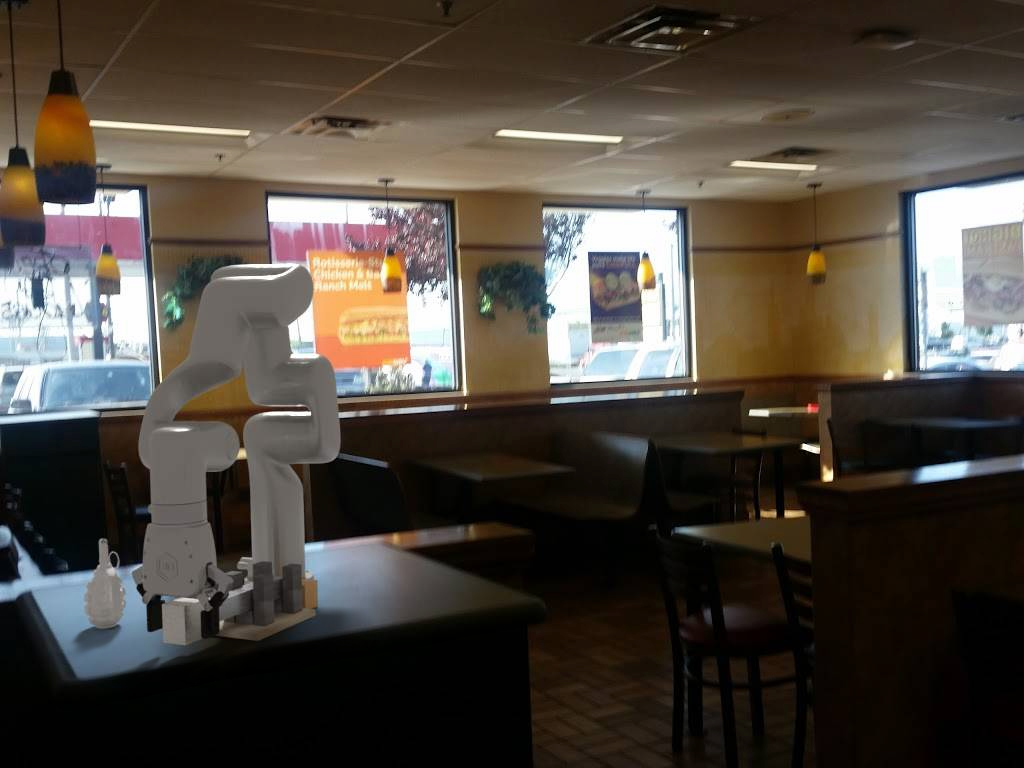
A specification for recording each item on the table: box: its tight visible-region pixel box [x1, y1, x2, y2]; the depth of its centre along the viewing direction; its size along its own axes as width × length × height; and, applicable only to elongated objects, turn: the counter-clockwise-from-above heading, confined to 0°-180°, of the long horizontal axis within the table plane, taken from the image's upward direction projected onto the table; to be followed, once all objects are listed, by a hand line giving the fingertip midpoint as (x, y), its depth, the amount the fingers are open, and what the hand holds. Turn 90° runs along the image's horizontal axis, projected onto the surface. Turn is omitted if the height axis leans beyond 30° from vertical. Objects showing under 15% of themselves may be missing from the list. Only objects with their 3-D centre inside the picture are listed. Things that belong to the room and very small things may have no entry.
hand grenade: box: [83, 538, 127, 630], centre depth 164 cm, size 8×6×14 cm
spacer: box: [302, 579, 319, 609], centre depth 174 cm, size 6×4×4 cm
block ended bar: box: [162, 576, 283, 646], centre depth 158 cm, size 4×24×6 cm, turn 156°
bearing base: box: [214, 561, 317, 642], centre depth 164 cm, size 11×15×8 cm
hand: (183, 633), depth 148 cm, fingers open, 9 cm apart
